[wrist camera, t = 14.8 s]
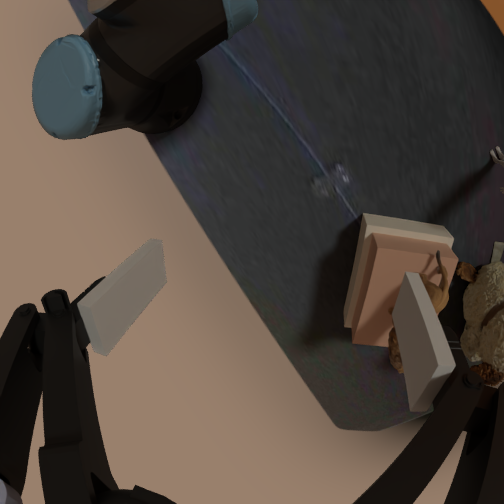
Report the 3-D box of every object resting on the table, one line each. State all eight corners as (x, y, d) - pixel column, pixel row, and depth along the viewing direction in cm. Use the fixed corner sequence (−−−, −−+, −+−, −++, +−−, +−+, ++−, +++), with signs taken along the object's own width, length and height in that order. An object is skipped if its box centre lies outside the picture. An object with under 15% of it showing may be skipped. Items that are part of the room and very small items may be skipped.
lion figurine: (405, 337, 41) (415, 381, 33) (375, 329, 42) (381, 374, 34) (451, 253, 34) (477, 290, 26) (419, 241, 35) (441, 278, 27)
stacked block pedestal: (343, 309, 53) (344, 347, 44) (362, 213, 45) (371, 239, 36) (414, 316, 50) (425, 353, 42) (443, 226, 42) (466, 253, 33)
